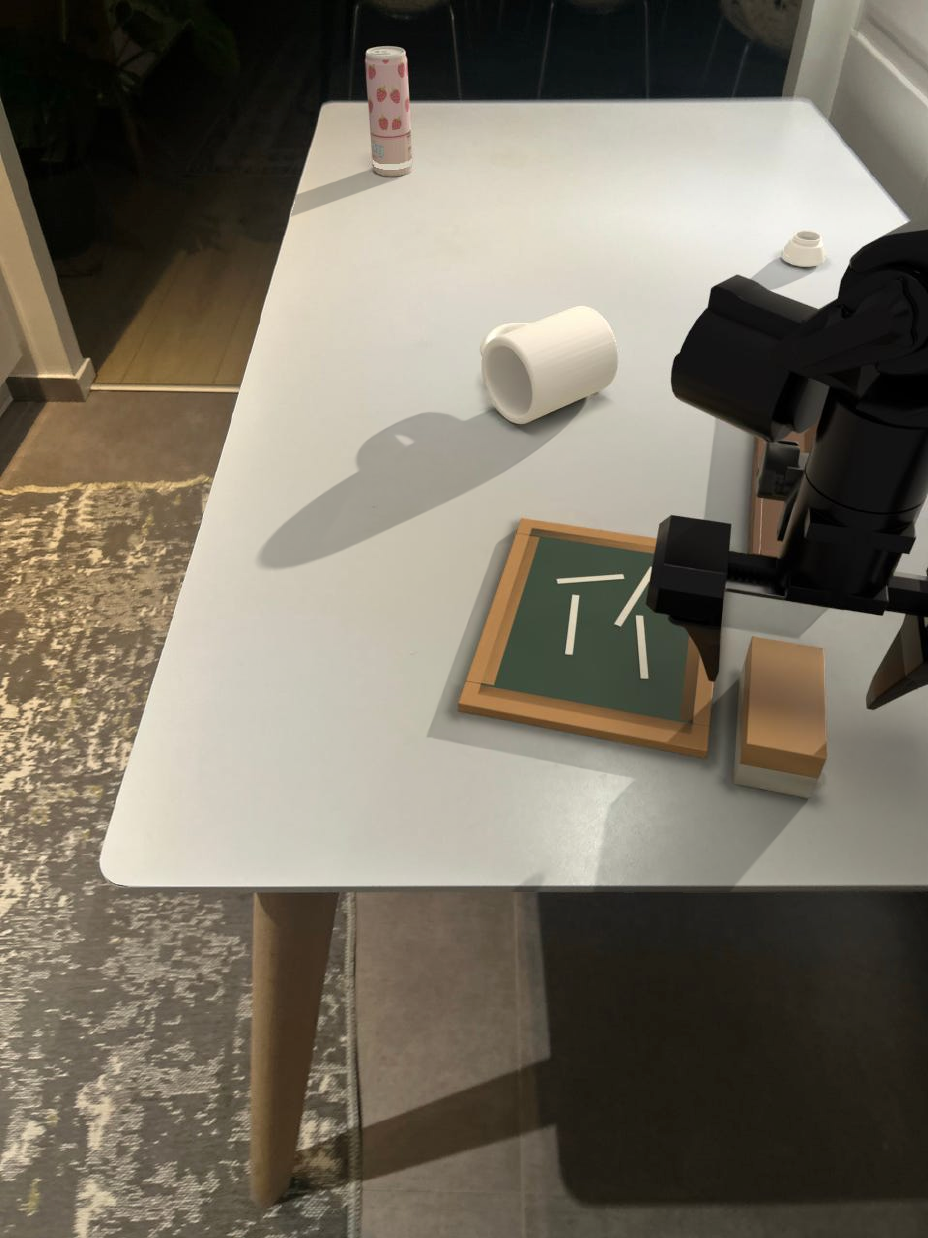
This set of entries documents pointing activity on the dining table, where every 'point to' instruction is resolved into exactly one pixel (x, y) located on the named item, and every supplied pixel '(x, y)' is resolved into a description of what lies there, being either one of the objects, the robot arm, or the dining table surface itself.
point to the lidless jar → (804, 249)
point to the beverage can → (389, 108)
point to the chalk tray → (770, 502)
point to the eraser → (781, 718)
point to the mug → (548, 363)
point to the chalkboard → (588, 645)
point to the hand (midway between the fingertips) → (789, 689)
